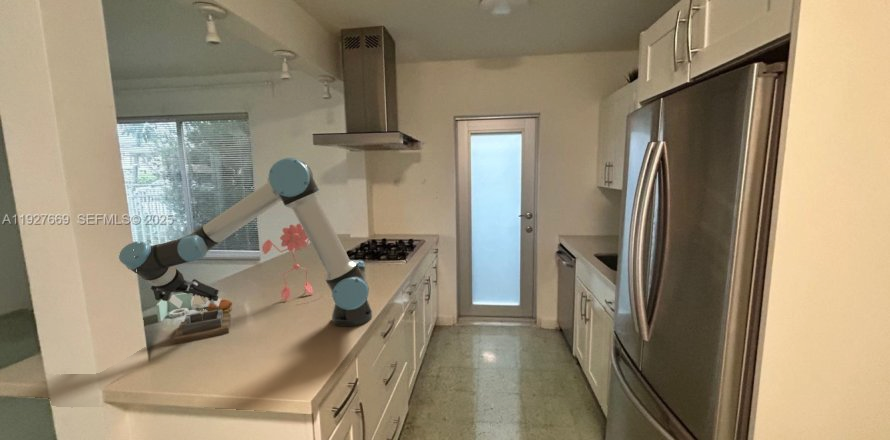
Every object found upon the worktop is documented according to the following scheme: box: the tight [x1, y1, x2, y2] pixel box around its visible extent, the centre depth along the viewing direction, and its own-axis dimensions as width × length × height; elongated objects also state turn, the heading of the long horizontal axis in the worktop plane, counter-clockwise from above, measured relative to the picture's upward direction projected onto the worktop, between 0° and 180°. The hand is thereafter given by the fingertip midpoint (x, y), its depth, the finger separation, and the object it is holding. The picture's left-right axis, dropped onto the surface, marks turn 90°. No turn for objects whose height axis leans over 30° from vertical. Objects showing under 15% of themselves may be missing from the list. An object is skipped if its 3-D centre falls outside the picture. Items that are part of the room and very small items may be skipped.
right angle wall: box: [155, 292, 194, 323], centre depth 146 cm, size 12×12×8 cm
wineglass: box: [191, 294, 210, 321], centre depth 129 cm, size 6×6×12 cm
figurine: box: [261, 222, 322, 306], centre depth 157 cm, size 15×26×35 cm, turn 131°
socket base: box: [173, 309, 232, 345], centre depth 130 cm, size 16×16×5 cm
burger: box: [205, 299, 233, 314], centre depth 147 cm, size 10×9×5 cm
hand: (199, 304), depth 128 cm, fingers open, 13 cm apart
